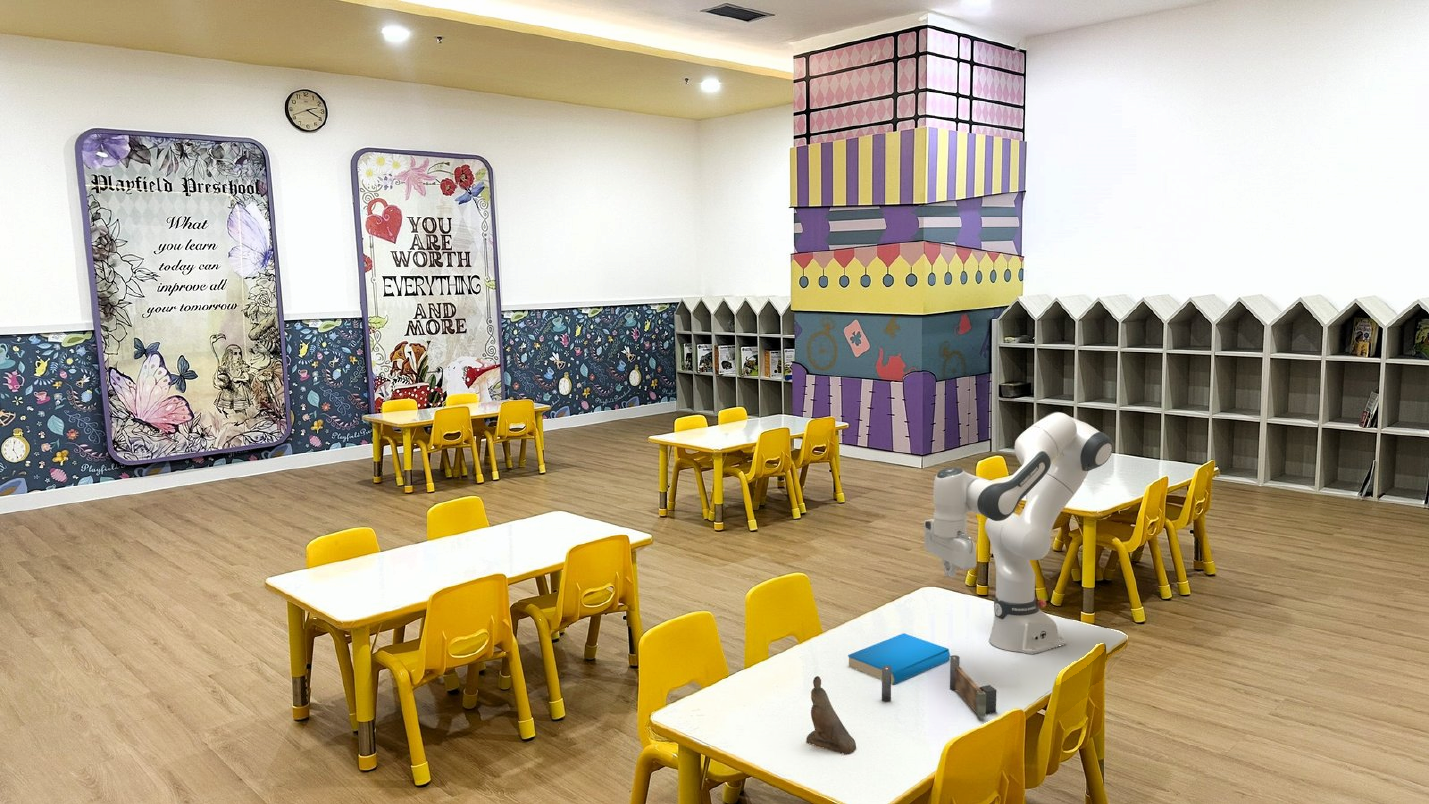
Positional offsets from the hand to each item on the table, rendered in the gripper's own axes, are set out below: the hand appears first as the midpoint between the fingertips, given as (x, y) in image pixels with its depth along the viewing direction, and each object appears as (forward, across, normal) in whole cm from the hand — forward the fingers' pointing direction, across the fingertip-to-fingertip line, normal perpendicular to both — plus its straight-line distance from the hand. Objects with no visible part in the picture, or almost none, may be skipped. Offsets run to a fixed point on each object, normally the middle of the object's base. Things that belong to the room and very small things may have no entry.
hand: (950, 576), depth 266 cm
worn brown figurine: (+27, -25, +49) cm, 62 cm away
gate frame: (+28, -16, +15) cm, 35 cm away
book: (+29, +11, +10) cm, 32 cm away
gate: (+27, -19, +7) cm, 34 cm away
